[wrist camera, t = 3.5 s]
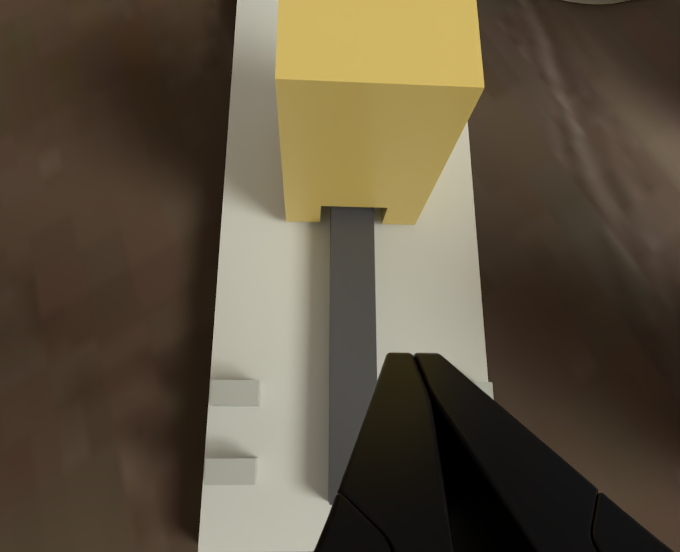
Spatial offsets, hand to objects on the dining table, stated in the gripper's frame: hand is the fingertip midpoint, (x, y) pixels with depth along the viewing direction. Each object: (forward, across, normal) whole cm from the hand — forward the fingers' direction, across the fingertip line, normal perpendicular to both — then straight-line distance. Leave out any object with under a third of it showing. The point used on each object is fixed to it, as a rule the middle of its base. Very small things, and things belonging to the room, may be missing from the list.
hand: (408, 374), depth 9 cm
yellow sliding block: (+14, 0, +1) cm, 14 cm away
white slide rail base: (+16, 0, +1) cm, 16 cm away
